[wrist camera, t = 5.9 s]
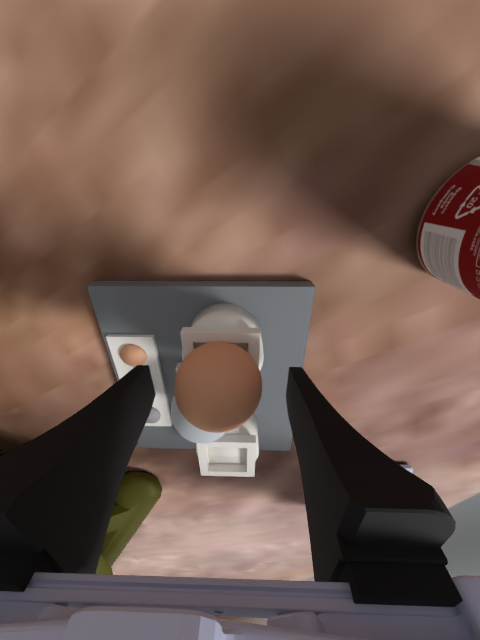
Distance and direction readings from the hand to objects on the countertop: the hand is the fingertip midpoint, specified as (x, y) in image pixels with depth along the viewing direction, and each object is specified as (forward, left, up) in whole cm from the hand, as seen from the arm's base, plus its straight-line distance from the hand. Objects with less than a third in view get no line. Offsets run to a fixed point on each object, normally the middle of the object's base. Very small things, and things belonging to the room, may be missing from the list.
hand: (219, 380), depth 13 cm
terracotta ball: (0, 0, 0) cm, 0 cm away
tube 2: (-9, 0, -4) cm, 10 cm away
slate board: (-4, +2, -5) cm, 7 cm away
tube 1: (0, 0, -4) cm, 4 cm away
